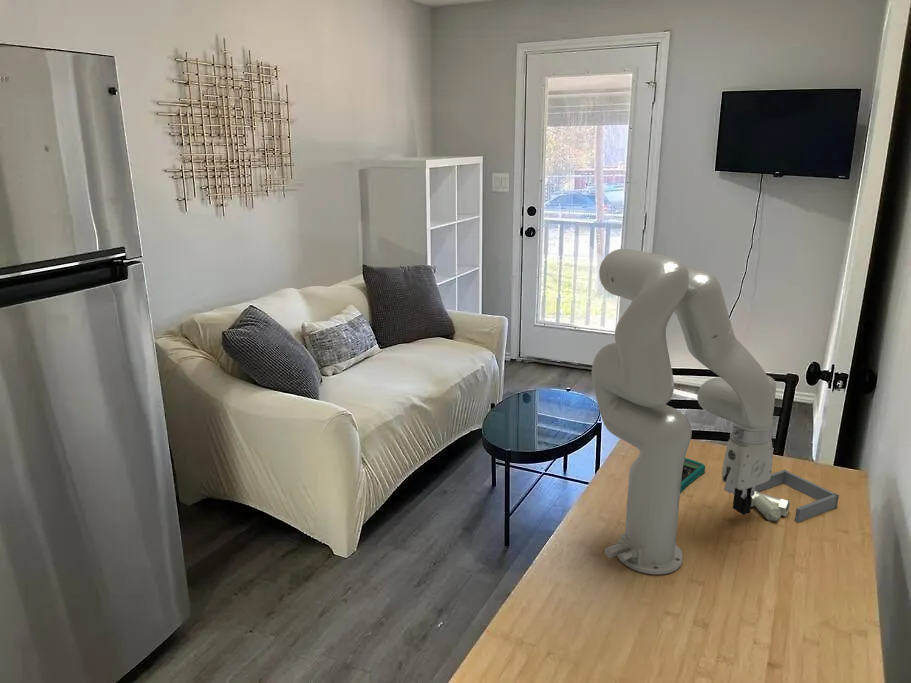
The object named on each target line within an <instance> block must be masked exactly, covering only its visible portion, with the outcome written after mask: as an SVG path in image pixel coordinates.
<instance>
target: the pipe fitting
mask: <svg viewBox="0 0 911 683" xmlns="http://www.w3.org/2000/svg"><path fill="white" fill-rule="evenodd" d="M751 497H752V501H751V508H756V509H757V510H758V512H760V513H761V515H763V517H765V519H766V520H767V521H768V522H772V521H774V522H775V521H778V520H779V519H780V518H781V516H784V517H787V516H788V513H789V509H790V505H791V504H790V503H791V501H790V500H788V499H784V498H779V497H776V496H773V495H769V494H765V493H762V492H760V491H759V492H757V491H755V493H754V495H753V496H751Z"/></svg>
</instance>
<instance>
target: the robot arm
mask: <svg viewBox="0 0 911 683" xmlns="http://www.w3.org/2000/svg"><path fill="white" fill-rule="evenodd" d="M598 272H599V273H598V275H599V276H598V277H599V281H600V283H601V286H602V288H604V290H605V291H606V292H608V294H611V295H614V296H617V297H619V298H620V297H621V298H624V299H627V300H630V301H631V303H630V304H629V305H628V307H627V308H626V310H625V311H624V312H623V314H622V315H621V317H620V318H619V319H618V321H617V324H616V327H615V330H614V341H615V342H614V343H613V342H612V343H610V344H607V345H605V346H603V347H601V348H600V349H599V351H598V352H597V354H596V355H595V356H594V359H593V361H592V367H591V380H592V387H593V390H594V395H595V397H596V402H597V406H598V409H599V413H600V417H601V420H602V422H603V425H604V426H605V428H606V430H607V431H608V432H609V433H610V434H611V435H613V436H615V437H617V438H618V439H620V440H622V441H624V442H626V443H628V444H630V445H632V446H633V447H634V448H636V449H637V450H638V451H639V454H638V457H637V458H636V459H635V460H634V461H633V463H632V464H631V465H630V467H629V471H628V480H627V481H628V482H627V483H628V484H627V485H628V486H627V487H628V488H627V497H626V498H627V500H626V514H625V530H624V533H623V534H620V538H619V539H618V541H617V542H616V544H615V545H614V544H613V545H611V546H607V547H605V549H604V553H605V556H606V557H607V558H609V559H610V558H613V557H615V556H616V557H617V558H618V560H620V562H621V563H622V564H624V565H625V566H626V567H628V568H629V569H632V570H634V571H637V572H638V573H642V574H649V575H666V574H670V573H673V572H676V571H677V570H679V568H681V566H682V564H683V559H684V555H683V552H682V549H681V548H680V547H679V546H678V545H677V541H676V540H677V534H678V532H677V531H678V520H679V512H680V511H679V509H680V496H681V493H680V488H681V478H682V470H683V464H684V460H685V458H686V457H687V453H688V449H689V446H690V443H691V439H692V435H693V434H692V432H693V431H692V425H691V423H690V421H689V419H688V417H687V416H685V414H684V413H682V412H681V411H679V410H678V409H676V408H674V407H673V406H669V405H668V403H669V402H670V401H671V399H672V396H674V395H673V394H674V390H675V389H674V388H675V384H674V382H675V381H674V375H673V374H674V373H673V369H672V365H671V359H670V354H669V349H668V342H667V336H666V335H667V334H666V333H667V327H668V323H669V321H670V320H671V317H672V316H673V314H675V315H676V316H677V319H678V322H679V325H680V328H681V331H682V334H683V337H684V340H685V343H686V346H687V349H688V351H689V353H690V355H691V356H692V357H693V358H694V359H696V361H698V362H699V363H700V364H701V365H703V366H704V367H705V368H707V369H709V370H710V371H712V372H713V373H714V374H716V375H717V377H714V378H713V377H712V378H710V379H708V380H706V381H705V382H704V383H702V385H701V386H700V387H699V388H698V391H697V395H696V396H697V397H696V399H697V402H698V404H699V406H700V408H702V409H703V410H704V411H705V412H707V413H709V414H711V415H714V416H716V417H719V418H721V419H723V420H727V421H729V422H731V423H730V432H729V433H730V434H729V437H730V438H729V439H728V442H727V445H726V447H725V448H726V450H725V452H724V457H723V463H722V470H721V478H722V482H724V483H725V484H724V487H723V491H725V492H727V493H728V494H733V501H732V502H733V503H732V509H733V510H734V511H736V512H737V513H739V514H740V515H744V516H746V515H748V514H750V513H751V508H752V506H751V501H752V497H751V496H753V495H754V493H755V489H756V487H757V485H760V484H762V483H765V482H767V481H769V480H770V478H771V474H773V473H772V472H773V470H772V469H773V457H774V456H773V454H774V453H773V452H774V449H773V442H772V438H771V434H772V425H773V417H774V416H773V415H774V411H775V400H776V392H777V383H776V381H775V379H774V378H773V377H772V376H770V375H767V373H766V372H765V370H764V368H763V367H762V365H761V364H760V363H759V361H757V360H756V358H755V357H754V356H753V355H752V354H751V353H750V351H749V350H748V349H747V348H746V347H745V346H744V345H743V344H742V343H741V342H740V341H739V340H738V339H737V337H736V336H735V333H734V328H733V326H732V322H731V318H730V315H729V312H728V311H729V310H728V309H727V307H728V306H727V304H726V301H725V296H724V293H723V290H722V286H721V284H720V282H719V280H718V278H716V276H715V275H713V274H712V273H711V272H708V271H706V270H702V269H699V268H698V269H697V268H692V267H689V266H686V265H685V264H684V263H683V262H681V260H679V259H676V258H674V257H672V256H669V255H668V256H667V255H663V254H658V253H653V252H647V251H641V250H635V249H629V248H619V249H615V250H613V251H611V252H609V253H608V254H607V255H606V256H605V257H604V258H603V260H602V261H601V263H600V266H599V271H598Z"/></svg>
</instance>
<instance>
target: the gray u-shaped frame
mask: <svg viewBox="0 0 911 683" xmlns="http://www.w3.org/2000/svg"><path fill="white" fill-rule="evenodd" d="M782 484H785V485H786V486H789V487H790V488H792V489H795V490H796V491H798V492H800V493H802V494H805V495H806V496H808V497H811V498H813V499H815V500H814V501H812V502H809V503H807V504H804V505H801V506H798V507H796V509H795V515H794V521H795V522H796V523H800V522H803V521H805V520H808V519H811V518H813V517H816V516H818V515H820V514H823V513H827V512H829V511H831V510H833V509H836V508H838V502H839V498H840V497H839V496H840V494H837V493H835V492H833V491H831V490H829V489H826V488H824V487H822V486H821V485H819V484H816V483H814V482H812V481H810V480H808V479H806V478H803V477H802V476H799V475H797V474H795V473H792V472H790V471H788V470H786V469H782V470H779V471H777V472H773V473H771V478H770V480H769V481H767V482H765V483H762V484H760V485H757V487H756V489H755V491H757V492H759V493H760V492H763V491H765V490H767V489H771V488H774V487H777V486H779V485H782Z"/></svg>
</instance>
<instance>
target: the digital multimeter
mask: <svg viewBox="0 0 911 683" xmlns="http://www.w3.org/2000/svg"><path fill="white" fill-rule="evenodd" d="M705 472H706V465H705V464H704V463H701V462H699V461H697V460H694V459H691V458H687V457H685V460H684V464H683V470H682V478H681V488H680V494H681V493H682V492H683V491H684V490H685V489H686V488H687V487H689V485H690V484H691V483H692V482H693V483H694V481H695V480H696V479H698V478H699V477H700V476H701V475H703V474H705Z"/></svg>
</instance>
